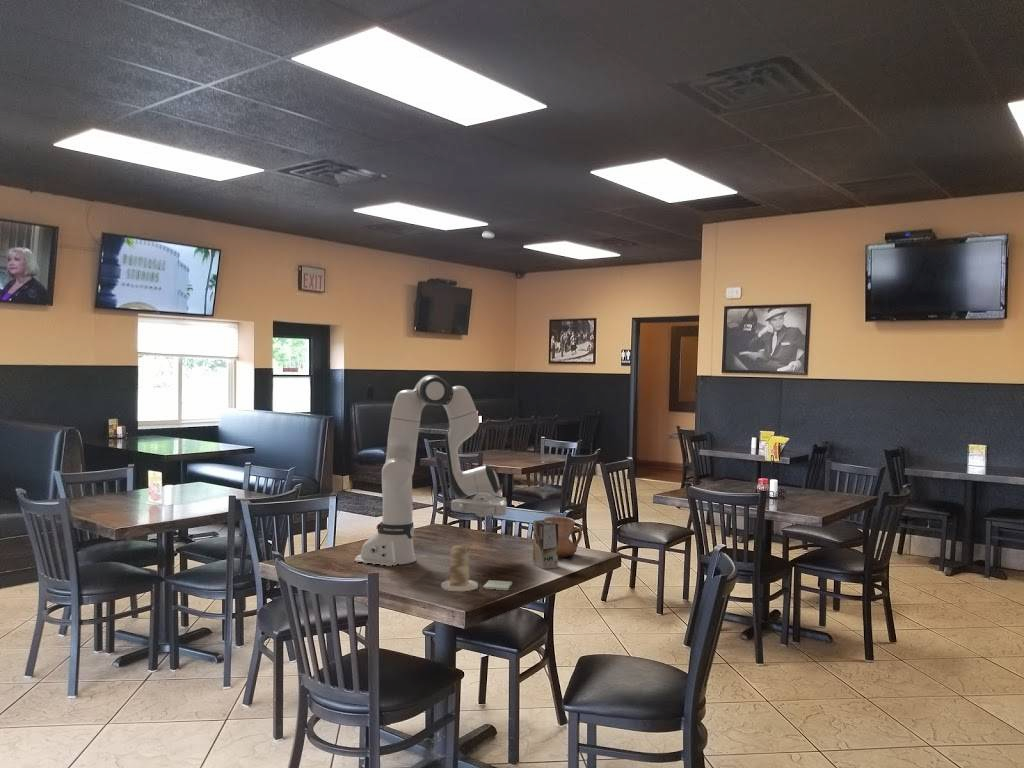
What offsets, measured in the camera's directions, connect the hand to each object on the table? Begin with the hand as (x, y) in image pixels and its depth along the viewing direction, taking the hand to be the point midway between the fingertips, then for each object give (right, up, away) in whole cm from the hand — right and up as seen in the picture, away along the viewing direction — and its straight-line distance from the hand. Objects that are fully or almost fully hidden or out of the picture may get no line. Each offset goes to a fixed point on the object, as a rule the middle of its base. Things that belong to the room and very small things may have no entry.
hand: (474, 510), depth 269 cm
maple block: (-4, -21, -20) cm, 29 cm away
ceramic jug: (+32, -23, +28) cm, 48 cm away
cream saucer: (-4, -22, -20) cm, 30 cm away
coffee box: (+26, -22, +11) cm, 36 cm away
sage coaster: (+9, -22, -19) cm, 30 cm away
